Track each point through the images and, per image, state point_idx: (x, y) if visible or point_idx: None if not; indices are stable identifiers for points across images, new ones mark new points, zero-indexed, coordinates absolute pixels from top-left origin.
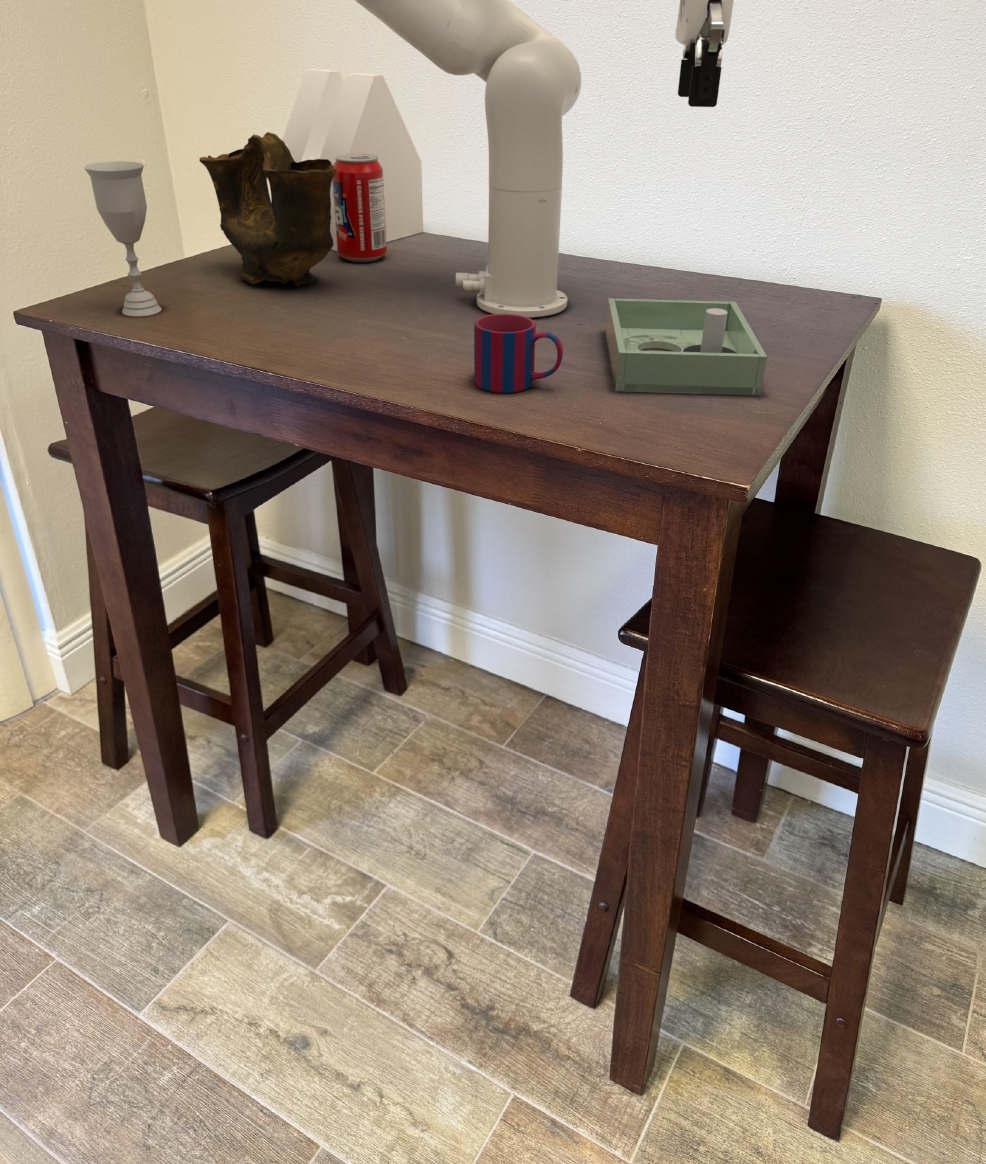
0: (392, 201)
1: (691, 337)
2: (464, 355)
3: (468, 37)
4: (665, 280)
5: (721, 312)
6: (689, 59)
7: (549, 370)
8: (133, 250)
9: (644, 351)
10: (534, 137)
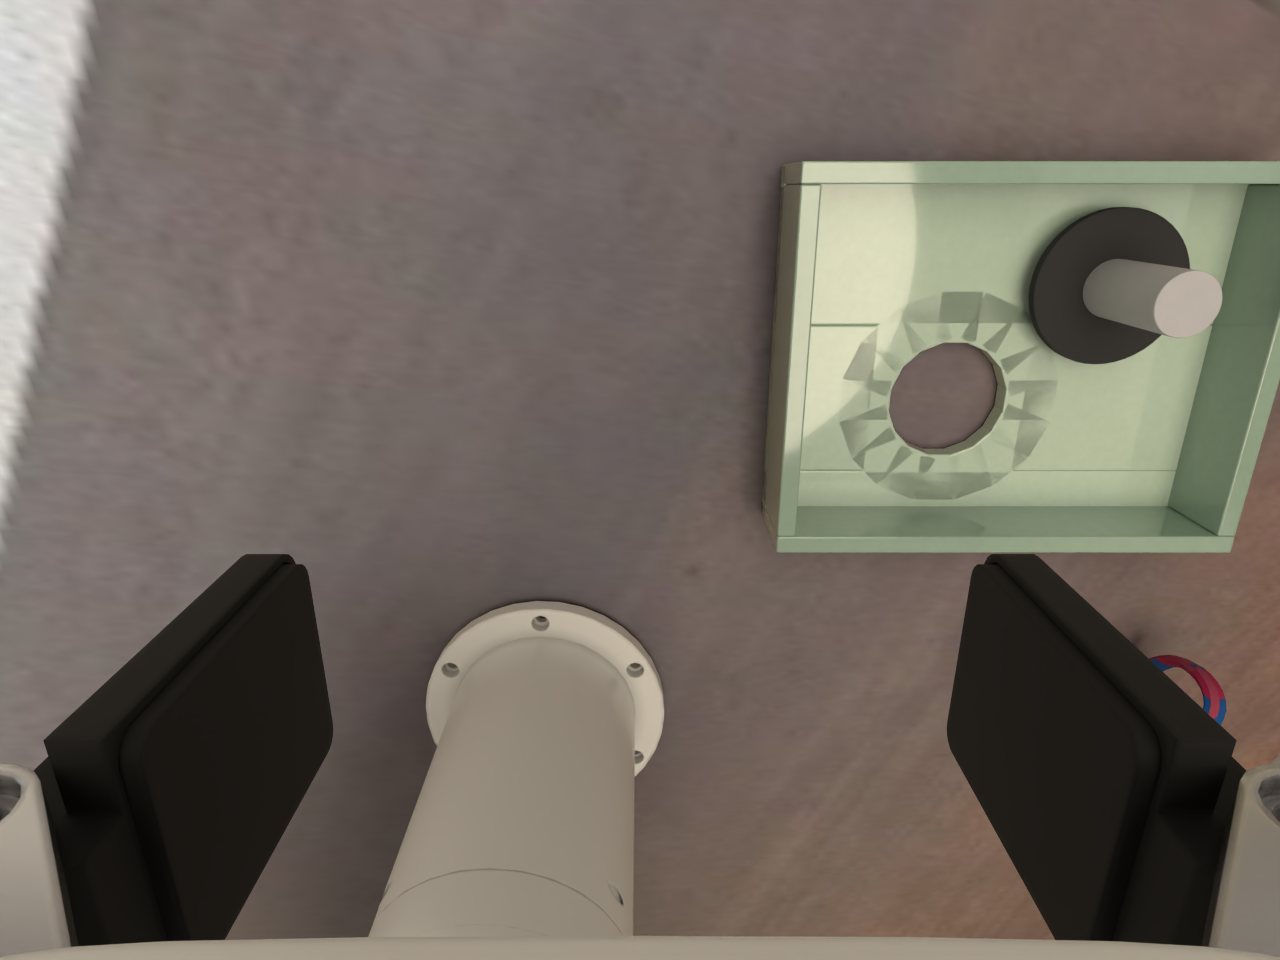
0: None
1: (864, 301)
2: (915, 796)
3: None
4: (202, 296)
5: (1202, 291)
6: (156, 936)
7: (1162, 668)
8: None
9: (1238, 494)
10: None
